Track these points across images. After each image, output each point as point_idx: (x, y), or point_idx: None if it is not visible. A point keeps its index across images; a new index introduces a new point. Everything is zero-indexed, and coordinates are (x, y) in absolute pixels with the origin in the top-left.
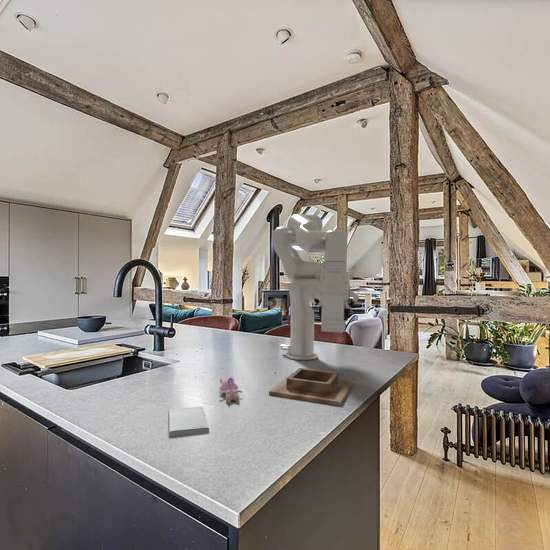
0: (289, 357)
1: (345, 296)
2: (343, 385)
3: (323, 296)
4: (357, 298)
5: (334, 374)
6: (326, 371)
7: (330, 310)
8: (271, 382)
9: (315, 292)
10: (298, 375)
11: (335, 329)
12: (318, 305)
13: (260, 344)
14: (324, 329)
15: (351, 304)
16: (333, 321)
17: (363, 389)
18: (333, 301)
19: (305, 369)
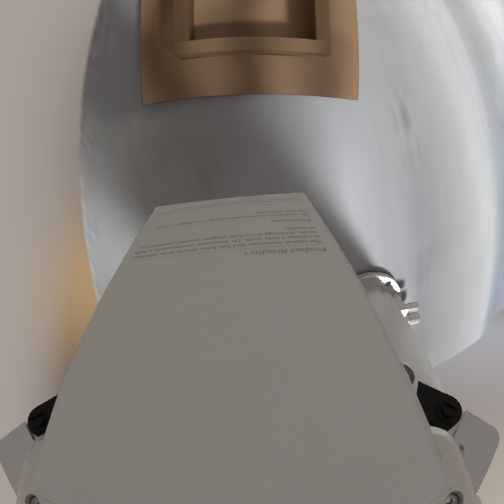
0: (391, 277)
1: (32, 474)
2: (160, 42)
3: (417, 469)
4: (4, 443)
5: (183, 27)
6: (221, 47)
7: (245, 299)
8: (383, 24)
9: (473, 477)
10: (312, 5)
11: (199, 206)
12: (407, 372)
13: (442, 342)
14: (284, 197)
15: (51, 406)
16: (210, 231)
17: (110, 75)
18: (196, 423)
19: (304, 41)
